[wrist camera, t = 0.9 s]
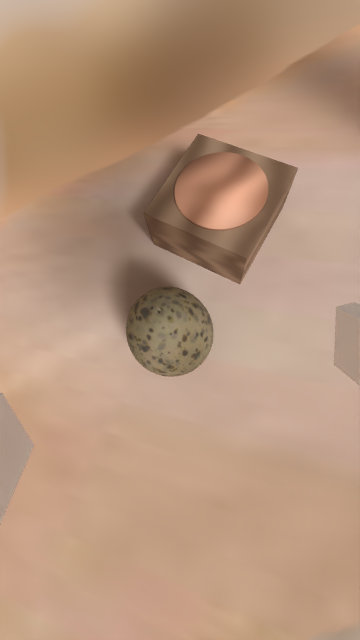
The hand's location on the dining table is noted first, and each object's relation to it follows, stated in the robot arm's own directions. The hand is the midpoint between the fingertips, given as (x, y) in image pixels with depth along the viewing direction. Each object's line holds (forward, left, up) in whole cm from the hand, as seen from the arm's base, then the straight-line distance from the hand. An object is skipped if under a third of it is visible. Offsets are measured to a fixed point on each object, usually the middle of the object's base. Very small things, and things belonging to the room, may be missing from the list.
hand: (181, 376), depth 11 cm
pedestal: (+11, -26, -29) cm, 40 cm away
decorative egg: (+7, -5, -29) cm, 30 cm away
